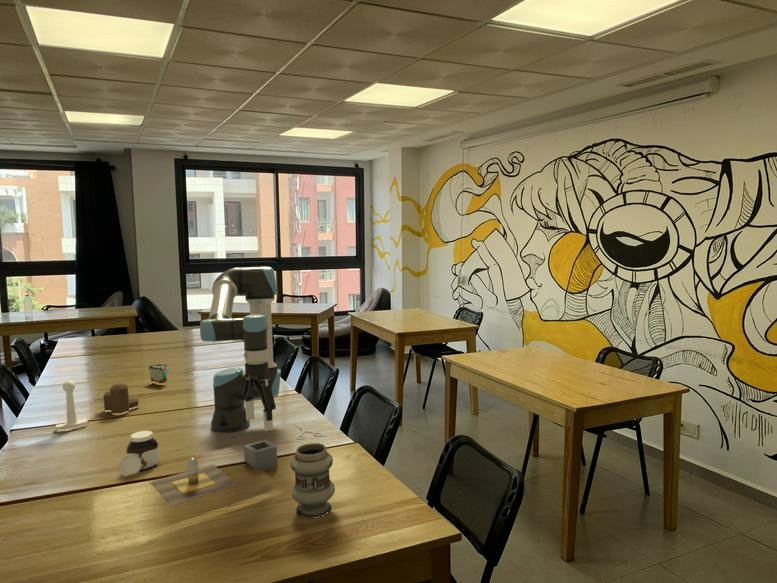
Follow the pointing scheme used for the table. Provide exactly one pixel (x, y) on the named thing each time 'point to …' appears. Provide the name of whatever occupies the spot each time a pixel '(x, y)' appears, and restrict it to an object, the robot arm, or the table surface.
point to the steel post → (192, 471)
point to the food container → (158, 372)
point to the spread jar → (140, 454)
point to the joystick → (70, 408)
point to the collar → (261, 455)
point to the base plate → (180, 491)
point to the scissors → (308, 431)
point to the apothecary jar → (312, 480)
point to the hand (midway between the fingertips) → (259, 424)
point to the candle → (118, 399)
